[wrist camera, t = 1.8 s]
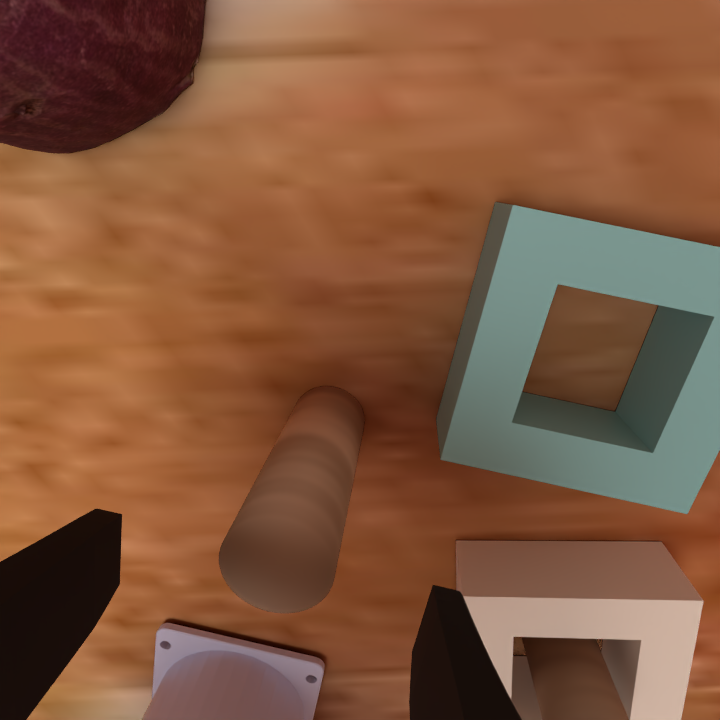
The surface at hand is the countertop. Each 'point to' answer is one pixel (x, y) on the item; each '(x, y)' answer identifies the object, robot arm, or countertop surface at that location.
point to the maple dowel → (297, 507)
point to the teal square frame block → (575, 421)
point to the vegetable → (91, 67)
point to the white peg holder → (586, 614)
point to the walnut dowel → (572, 680)
